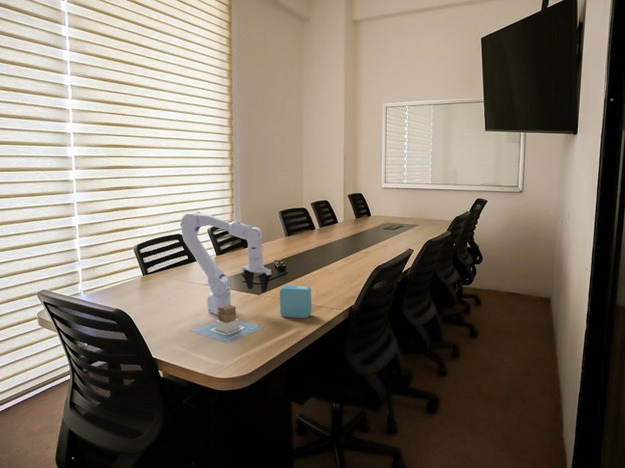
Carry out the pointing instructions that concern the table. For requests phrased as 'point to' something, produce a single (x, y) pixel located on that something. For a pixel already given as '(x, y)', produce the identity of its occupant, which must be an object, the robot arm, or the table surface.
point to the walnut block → (227, 313)
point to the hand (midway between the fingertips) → (257, 290)
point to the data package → (295, 301)
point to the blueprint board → (227, 337)
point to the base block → (226, 326)
